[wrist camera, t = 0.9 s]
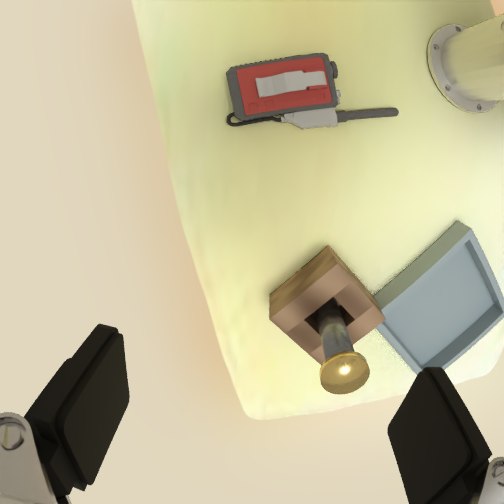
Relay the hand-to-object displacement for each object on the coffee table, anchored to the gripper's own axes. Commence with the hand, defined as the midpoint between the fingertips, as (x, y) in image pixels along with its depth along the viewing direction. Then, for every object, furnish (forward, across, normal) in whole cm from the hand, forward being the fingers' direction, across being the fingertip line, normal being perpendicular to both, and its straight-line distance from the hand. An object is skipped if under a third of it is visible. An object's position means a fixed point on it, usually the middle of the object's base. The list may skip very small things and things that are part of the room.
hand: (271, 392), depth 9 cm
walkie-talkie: (+31, -3, -14) cm, 34 cm away
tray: (+31, -28, +10) cm, 43 cm away
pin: (+30, -9, +11) cm, 33 cm away
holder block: (+31, -9, +11) cm, 34 cm away
